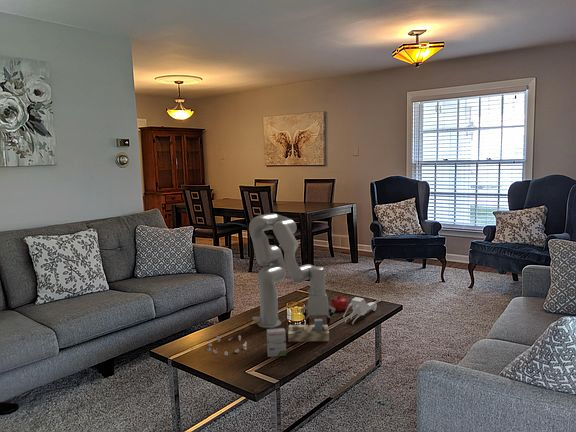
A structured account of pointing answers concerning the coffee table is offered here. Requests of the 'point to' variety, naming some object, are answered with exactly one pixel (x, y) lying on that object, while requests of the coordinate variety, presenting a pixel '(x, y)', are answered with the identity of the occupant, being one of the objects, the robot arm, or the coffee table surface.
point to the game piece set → (226, 352)
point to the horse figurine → (360, 307)
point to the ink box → (276, 342)
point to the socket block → (307, 333)
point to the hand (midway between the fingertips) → (318, 324)
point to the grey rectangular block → (318, 325)
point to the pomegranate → (339, 303)
